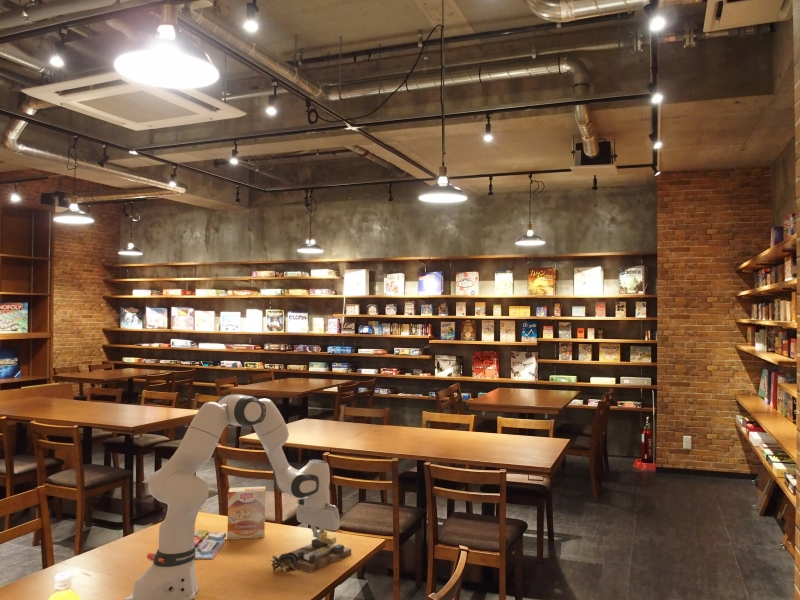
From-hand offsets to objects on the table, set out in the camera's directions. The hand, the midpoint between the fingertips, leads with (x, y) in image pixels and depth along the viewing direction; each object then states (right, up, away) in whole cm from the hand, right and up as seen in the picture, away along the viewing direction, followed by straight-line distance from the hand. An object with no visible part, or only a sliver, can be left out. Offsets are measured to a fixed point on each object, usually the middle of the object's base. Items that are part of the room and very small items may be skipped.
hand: (317, 537), depth 244 cm
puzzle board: (-50, -6, +5) cm, 50 cm away
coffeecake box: (-32, -6, +16) cm, 36 cm away
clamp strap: (+2, -2, -10) cm, 10 cm away
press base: (0, -5, -7) cm, 9 cm away
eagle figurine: (-9, -5, -20) cm, 22 cm away
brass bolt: (+4, -1, -3) cm, 5 cm away
